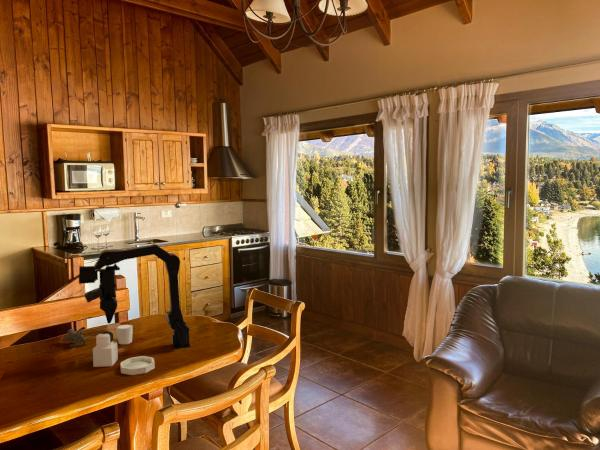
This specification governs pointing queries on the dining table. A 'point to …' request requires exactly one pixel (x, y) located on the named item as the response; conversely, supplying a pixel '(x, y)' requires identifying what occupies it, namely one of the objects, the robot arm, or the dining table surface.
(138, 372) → the bowl
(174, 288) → the robot arm
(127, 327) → the shot glass
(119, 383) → the dining table surface
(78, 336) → the dog figurine
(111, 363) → the medicine bottle
